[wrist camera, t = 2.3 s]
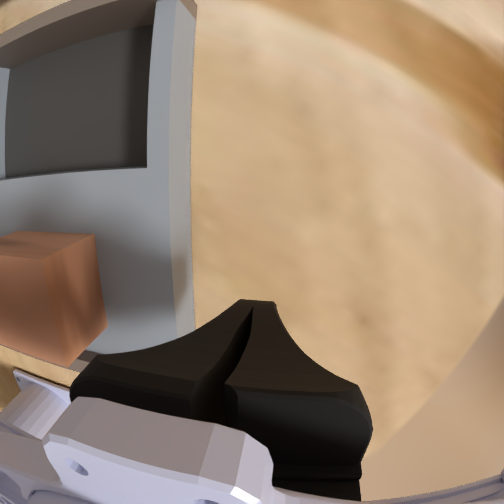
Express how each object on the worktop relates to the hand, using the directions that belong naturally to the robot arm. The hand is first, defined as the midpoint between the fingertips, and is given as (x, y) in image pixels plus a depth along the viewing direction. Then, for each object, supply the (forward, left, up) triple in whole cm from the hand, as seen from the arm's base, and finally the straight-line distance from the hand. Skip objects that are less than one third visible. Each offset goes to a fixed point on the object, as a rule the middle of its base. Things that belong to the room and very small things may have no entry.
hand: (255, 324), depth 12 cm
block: (0, +11, -2) cm, 11 cm away
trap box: (+4, +19, -5) cm, 20 cm away
